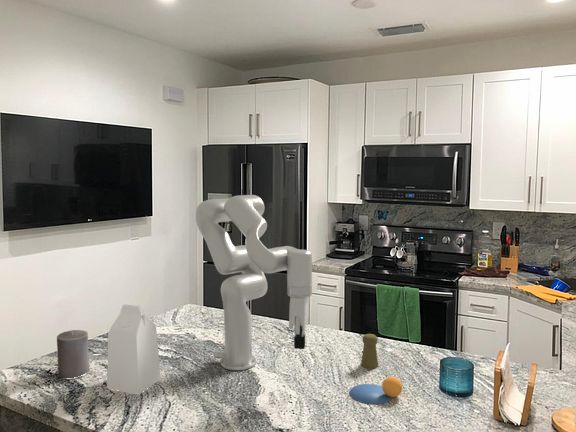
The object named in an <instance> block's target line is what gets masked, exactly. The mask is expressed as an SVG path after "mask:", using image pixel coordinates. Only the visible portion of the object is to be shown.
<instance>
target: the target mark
mask: <svg viewBox="0 0 576 432" xmlns="http://www.w3.org/2000/svg"><path fill="white" fill-rule="evenodd" d="M349 396H350V397H351V398H352V399H354V401H357V402H359V403H362V404H367V405H380V404H385V403H388V402H390V401H391V400H392V398H393V397H389V396H387V395H386V394H385V393H384V392H383V389H382V385H378V384H372V383H362V384H357V385H354V386H353V387H351V388H350V390H349Z"/></svg>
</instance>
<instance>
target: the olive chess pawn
mask: <svg viewBox="0 0 576 432" xmlns="http://www.w3.org/2000/svg"><path fill="white" fill-rule="evenodd" d="M362 344H363V349H362V355H361V362H360V367H362V368H364V369H368V370H370V369H371V370H373V369H377V368H378V367H379V360H378V352H377V344H378V337H377V335H375V334H372V333H365V334H364V335H363V336H362Z"/></svg>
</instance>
